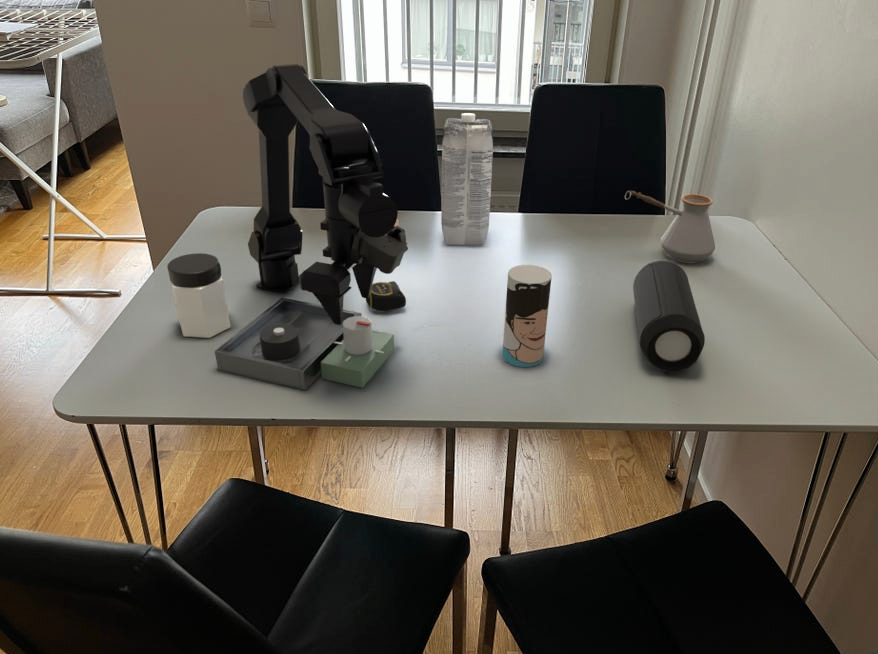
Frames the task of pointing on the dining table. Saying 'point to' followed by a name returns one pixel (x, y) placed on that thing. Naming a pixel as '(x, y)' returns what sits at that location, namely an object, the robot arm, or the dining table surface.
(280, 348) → the stopper
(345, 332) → the tap knob
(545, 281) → the cup
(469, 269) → the dining table surface
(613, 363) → the dining table surface
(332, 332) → the sink
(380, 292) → the tape measure
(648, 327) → the portable speaker
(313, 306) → the grey metal tray
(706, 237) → the coffee pot
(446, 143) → the juice carton
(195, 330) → the jar
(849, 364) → the dining table surface
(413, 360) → the dining table surface
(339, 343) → the panel
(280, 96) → the robot arm
